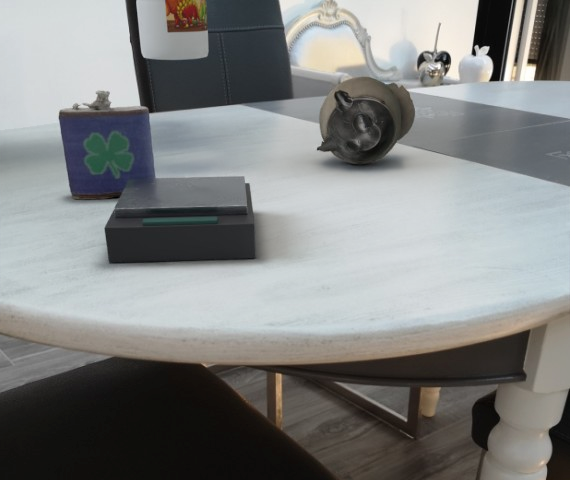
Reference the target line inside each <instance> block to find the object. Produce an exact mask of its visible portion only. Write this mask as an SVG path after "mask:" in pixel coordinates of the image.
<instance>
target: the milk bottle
mask: <svg viewBox="0 0 570 480" xmlns="http://www.w3.org/2000/svg"><path fill="white" fill-rule="evenodd" d="M135 3H136V12H137V23H138V25H137V26H138V33H139V34H138V35H139V43H140V45H139V46H140V52H141V55H142V57H143V58H144V59H150V60H157V61H159V60H161V61H183V60H184V61H185V60H197V59H203V58H207V57H208V56H209V30H208V29H209V27H208V8H207V0H136V2H135Z"/></svg>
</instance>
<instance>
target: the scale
mask: <svg viewBox="0 0 570 480" xmlns="http://www.w3.org/2000/svg"><path fill="white" fill-rule="evenodd" d="M245 188H246V198H247V214H243V215H205V216H168V217H131V218H115V213H114V209H113V210H112V212H111V214H110V216H109V218H108V220H107V222H106V224H105V226H104V236H105V244H106V250H107V258H108V263H109V264H116V263H117V264H118V263H144V262H146V263H147V262H148V263H149V262H175V261H176V262H177V261H178V262H181V261H210V260H211V261H212V260H243V259H256V231H255V230H256V229H255V228H256V225H255V216H254V208H253V199H252V192H251V183H250V182H245Z"/></svg>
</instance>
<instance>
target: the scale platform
mask: <svg viewBox="0 0 570 480" xmlns="http://www.w3.org/2000/svg"><path fill="white" fill-rule="evenodd" d="M245 183H246V179H245V175H234V176H231V175H229V176H227V175H226V176H194V177H193V176H192V177H191V176H187V177H185V176H184V177H156V178H140V179H129V181H128V183H127V184H126V186H125V188H124V190H123V192H122V194H121V196H120V197H118V200H117V202H116V204H115V206H114V208H113V210H114V213H115V218H131V217H168V216H205V215H243V214H247V198H246V188H245Z"/></svg>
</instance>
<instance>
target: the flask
mask: <svg viewBox="0 0 570 480" xmlns="http://www.w3.org/2000/svg"><path fill="white" fill-rule="evenodd" d="M95 94H96V95H97V96H96V99H95V100H94V101H93V102H91V103H88V102H82V103H81V104H80V103H78V102H75V103H74V104H73V105H72V106H71V107H68V108H66V107H65V108H63V109H62V108H61V109H59V111H58V122H59V128H60V135H61V141H62V147H63V153H64V159H65V168H66V173H67V181H68V186H69V191H70V194H71V198H72V199H74V200H75V199H77V200H97V199H109V198H115V197H118V198H120V196H121V194H122V192H123V190H124V188H125V186H126V184H127V183H128V181H129V179H140V178H157V176H156V167H155V158H154V152H153V142H152V131H151V129H152V128H151V121H150V110H149V108H148V107H147V106H143V105H134V106H116V107H111V104H112V101H111V100H109V97H110V94H111V92H110V91H109V90H95ZM82 105H83V106H86V107H81V106H82Z"/></svg>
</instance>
